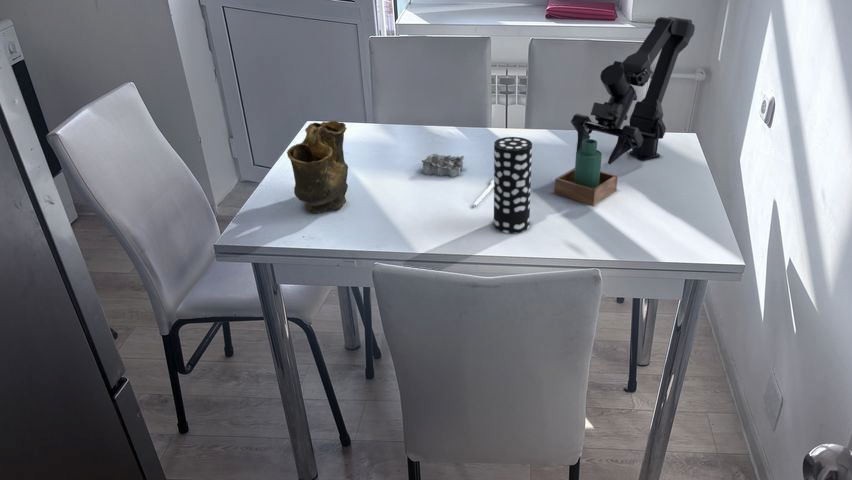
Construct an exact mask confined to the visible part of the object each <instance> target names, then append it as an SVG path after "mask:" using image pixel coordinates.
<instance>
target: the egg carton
mask: <svg viewBox="0 0 852 480" xmlns="http://www.w3.org/2000/svg"><path fill="white" fill-rule="evenodd" d="M464 159H465V158H464V155H461V156H455V155H453V156H452V155H444V154H443V155H442V154H441V155H440V154H438V153H431V154H430V155H428V156H426V158H424V159H422V160H421V162H422V173H424V174H426V175H428V176H429V175H432V174H433V175H434V174H435V175H438V176H441V177H442V176H446V175H447V176H449V177H451V178H455V177H458V176H460V175H461V171H463V170H464Z"/></svg>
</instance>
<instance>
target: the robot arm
mask: <svg viewBox="0 0 852 480" xmlns="http://www.w3.org/2000/svg"><path fill="white" fill-rule="evenodd" d="M695 28H696V27H695V24H693V20H692V19H689V18H683V17H674V16H668V17H665V16H660V17H657V18H656V20H655V22H654V26H653V27H652V29H651V30H650V32H649V33H648V35H647V36H646V38H645V39H644V40H643V42H642V44H641V45H640V46H639V48H638V49H637V50H636V52H635V53H632V54H629V55H628V56H626V58H625V59H624V60H623V61H618V60H614V61H613V64H610V65H608V66H606V67H605V68H603V70H602V71H601V72H600V75H599V76H600V77H599V78H600V81H601V83H602V85H603V86H604V88H605V90H606V92H607V94H608V95H609V96H610V97H609V99H608V101H605V102H604V103H601V102H600V103H599V102H595V101H594V102H593V105H592V107H591V111H590V116H594V120H595V121H596V122H593V121H592V120H591V119H590V116H589V115H585V114H580V113H576V114H574V115H573V116H572V117H571V119H570V123H571V125H572V127H573V128H574V130H575V131H576V133H577V142H576V151H575V153H576V152H577V151H578V150H580V149H582V143H583V140H585V139H591V135H590V134H592V132H593V131H594V132H598V133H602V134H606V135H610V136H614V137H617V140H616V144H615V146H614V148H613V150H612V151H611V154H610V155H609V158H608V161H607V164H608V165H611V164H613V163H614V162H615V161H616V160H618V159H620V157H621V156H622V155H624V154H625V153H627V152H628V151H629V154H630V155H632V156H634V157H636V158H637V159H640V160H641V161H646V160H651V159H655V158H660V157H661V154H660V153H658V145H659V140H661V139H664V136H665V134H666V129H667V128H666V125H665V123H664V121H663V117H664V111H663V106H662V103H663V100H664V96H665V94H666V90H667V88H668V86H669V82H670V79H671V76H672V74H673V71H674V68H675V65H676V62H677V60H678V56H679V54H680V53H681V52H682V51H683V50H685V48H687V47H688V45H689V43H690V41H691V39H692V38H693V36H694V35H695V30H696V29H695ZM658 55H659V56H658ZM657 57H658V59H657V62H656V64H655V67H654V70H653V73H652V64H653V63H654V62H655V59H656V58H657ZM651 75H652V76H651ZM650 77H651V79H650ZM649 80H650V82H649ZM648 82H649V84H648V88H647V90H646V93H645V95H644V98H642V100H641V101H638V95H637V90H636V89H635V88H634V86H635V87H644V86H645V85H646V84H647V83H648ZM634 101H636V102H635V104H634V108H633V111H632V113H631V115H630V116H628V113H629V110H630V108H631V106H632V104H633V102H634ZM628 118H629V125H627V124H625V125H623V124H624V121H627V120H628ZM622 125H623V127H622ZM621 127H622V128H621Z"/></svg>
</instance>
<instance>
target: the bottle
mask: <svg viewBox="0 0 852 480" xmlns="http://www.w3.org/2000/svg"><path fill="white" fill-rule="evenodd" d="M576 151H577V150H576ZM576 151H575V162H574V163H575V164H574V168H575V175H574V183H576V184H579V185H583V186H586V187H589V188H593V189H594V188H596V187H597V186H599V179H600V171H601V168H602V156H603V152H601V150H598V141H597V140H596V139H593V138H589V139H585V140H583V143H582V149H580V150H578V151H577V152H576Z"/></svg>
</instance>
